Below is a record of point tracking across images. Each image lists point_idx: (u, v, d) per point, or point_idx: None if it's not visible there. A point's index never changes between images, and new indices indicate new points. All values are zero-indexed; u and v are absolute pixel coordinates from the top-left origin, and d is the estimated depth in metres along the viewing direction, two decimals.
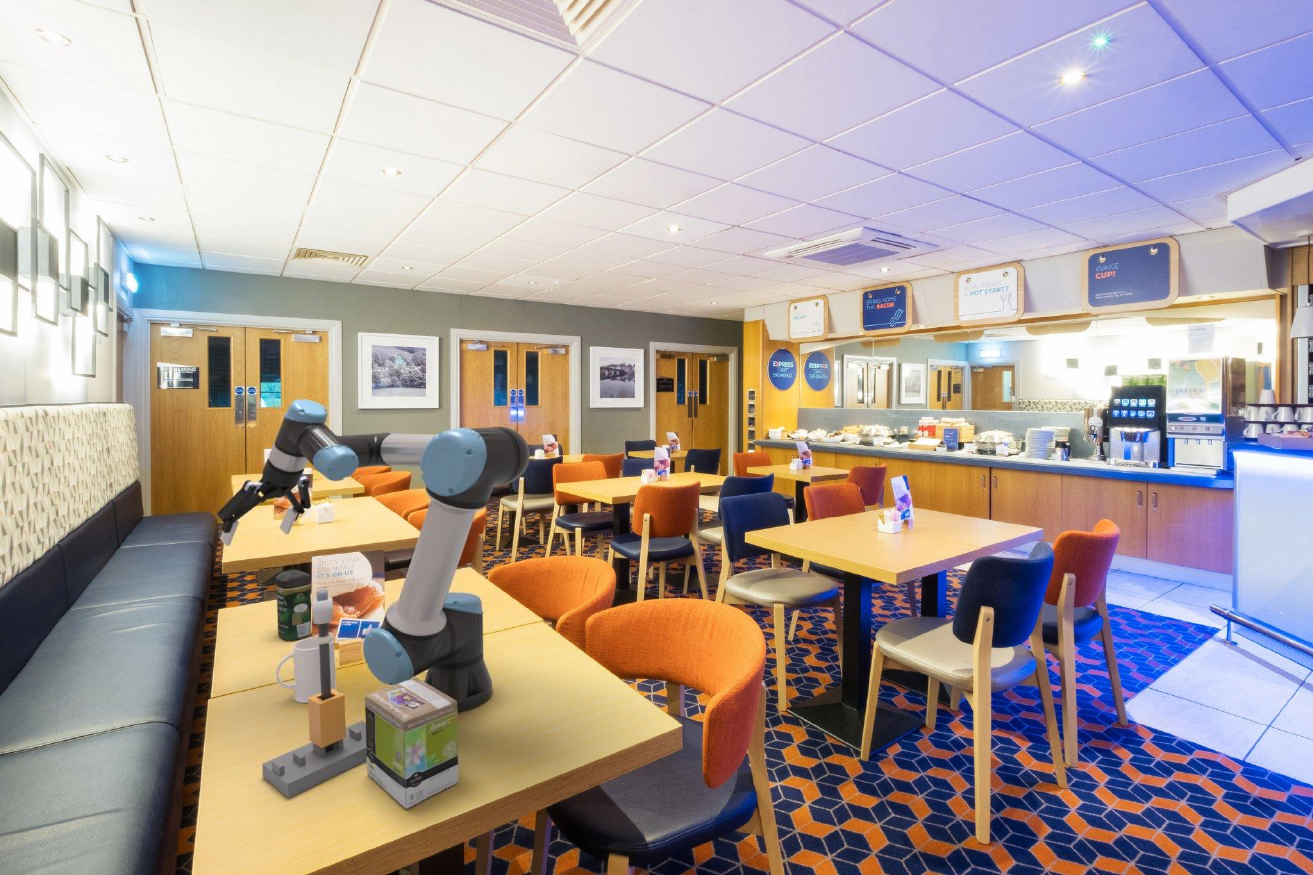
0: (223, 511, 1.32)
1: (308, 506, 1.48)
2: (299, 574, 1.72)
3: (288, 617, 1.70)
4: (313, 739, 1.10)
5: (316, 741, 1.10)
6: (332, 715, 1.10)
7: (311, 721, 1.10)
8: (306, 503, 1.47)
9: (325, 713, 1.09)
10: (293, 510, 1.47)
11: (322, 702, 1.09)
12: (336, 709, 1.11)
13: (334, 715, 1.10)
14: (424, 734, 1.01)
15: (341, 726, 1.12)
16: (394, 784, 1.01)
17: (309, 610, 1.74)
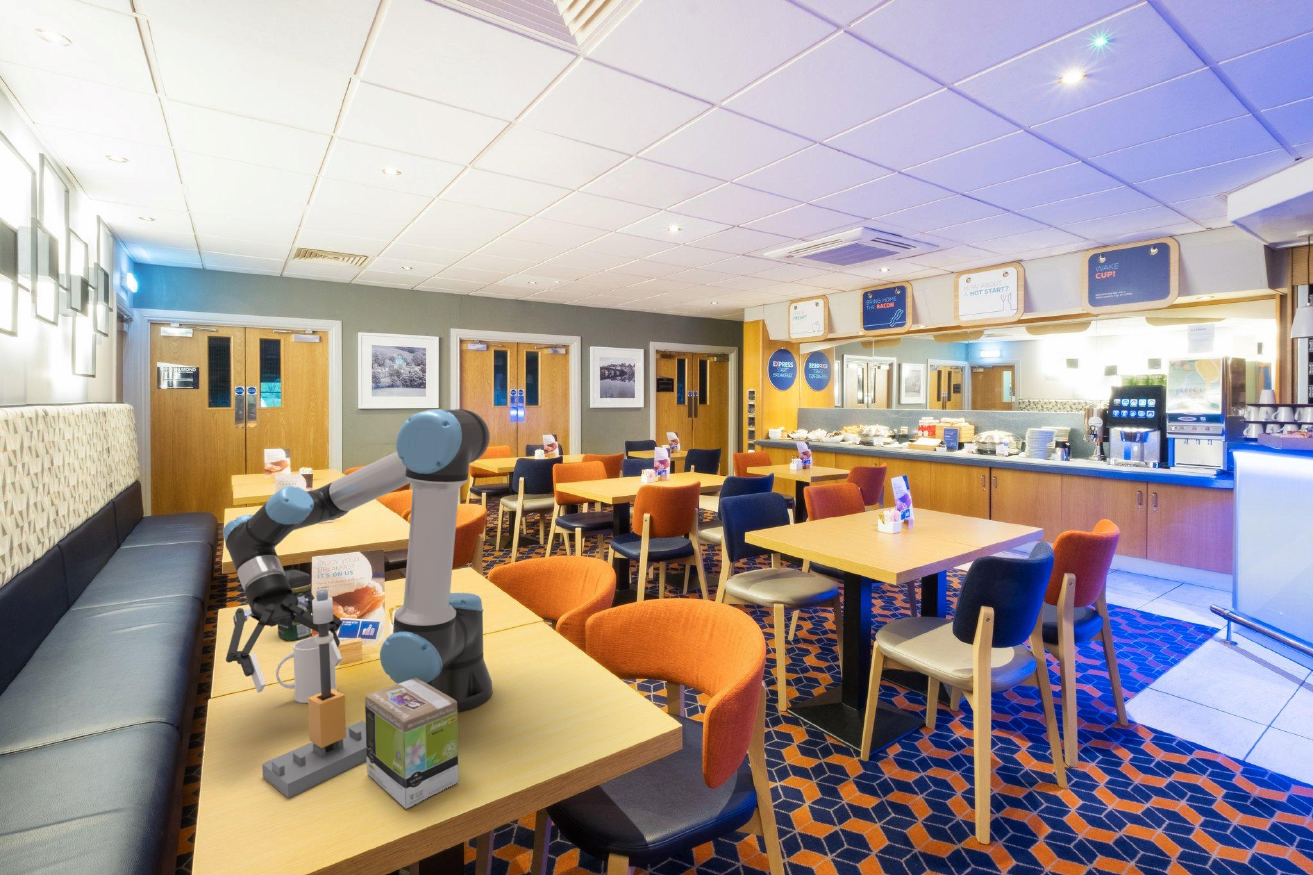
0: (228, 650, 1.12)
1: (338, 621, 1.26)
2: (299, 574, 1.72)
3: None
4: (313, 739, 1.10)
5: (316, 741, 1.10)
6: (332, 715, 1.10)
7: (311, 721, 1.10)
8: None
9: (325, 713, 1.09)
10: None
11: (322, 702, 1.09)
12: (336, 709, 1.11)
13: (334, 715, 1.10)
14: (424, 734, 1.01)
15: (341, 726, 1.12)
16: (394, 784, 1.01)
17: None
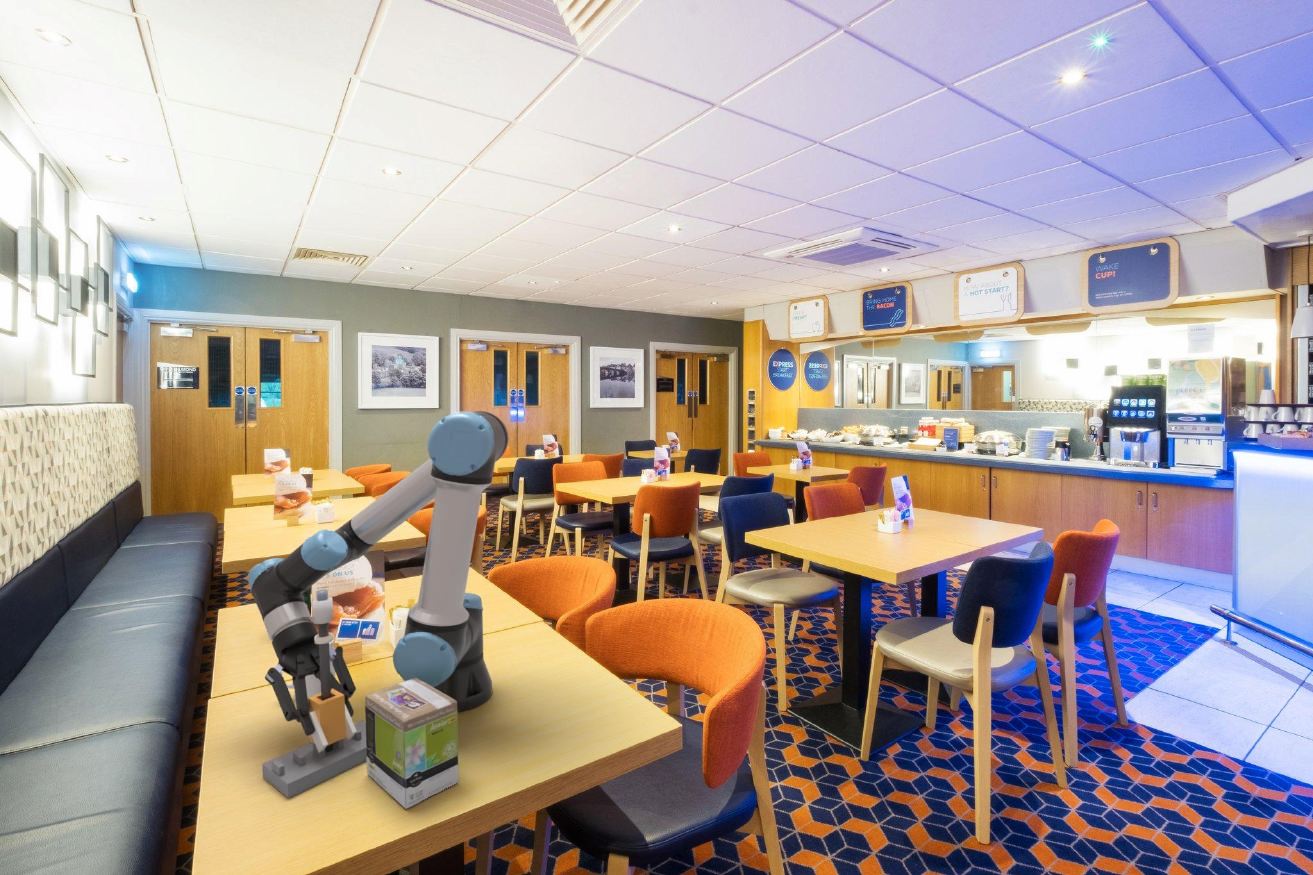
0: (285, 711, 1.08)
1: (352, 687, 1.16)
2: None
3: None
4: None
5: None
6: (332, 715, 1.10)
7: None
8: (347, 682, 1.17)
9: (325, 713, 1.09)
10: None
11: (322, 702, 1.09)
12: (336, 709, 1.11)
13: (334, 715, 1.10)
14: (424, 734, 1.01)
15: (341, 726, 1.12)
16: (394, 784, 1.01)
17: (309, 610, 1.74)
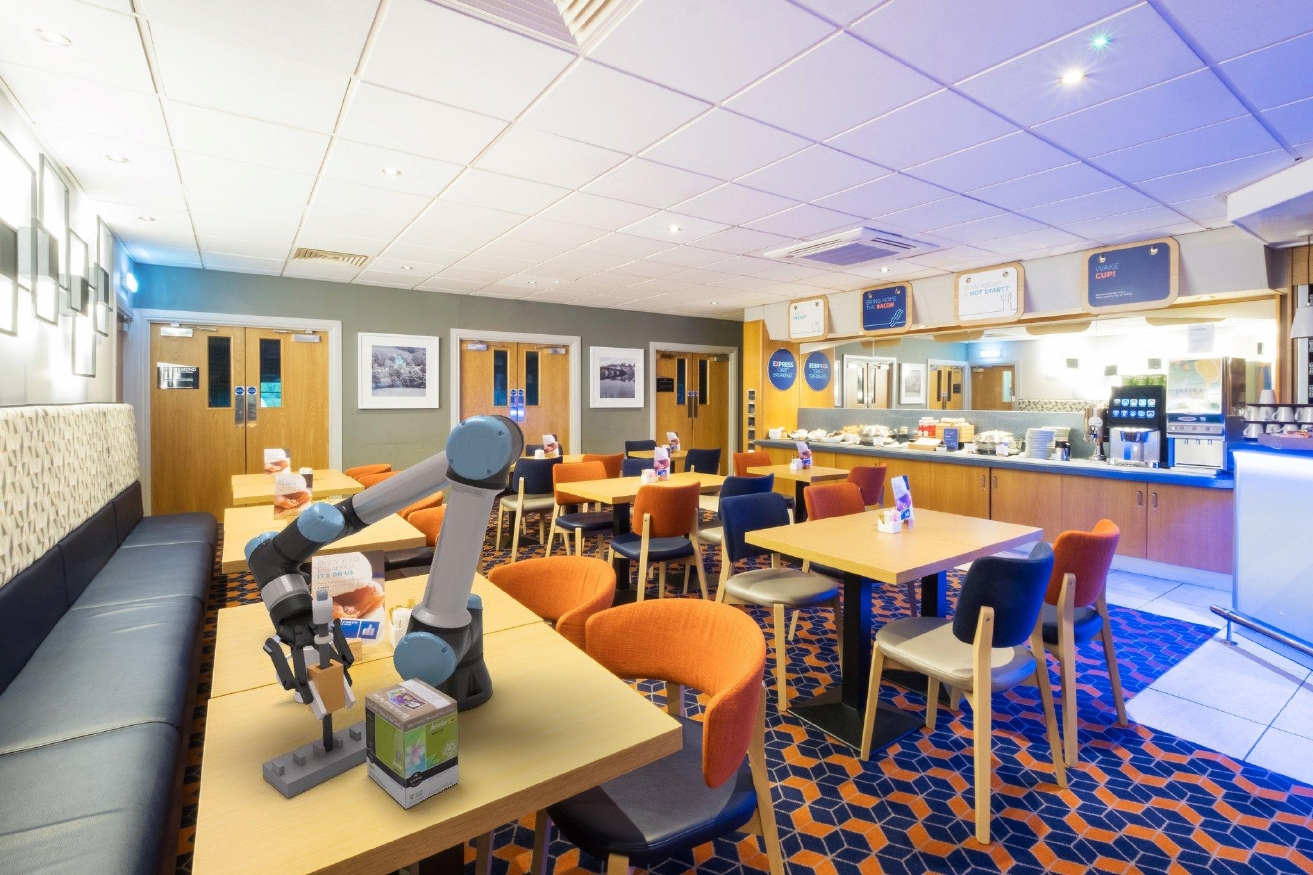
0: (283, 680, 1.08)
1: (350, 658, 1.16)
2: None
3: None
4: (312, 709, 1.10)
5: None
6: (331, 684, 1.10)
7: None
8: (346, 653, 1.16)
9: (324, 682, 1.09)
10: None
11: (321, 671, 1.09)
12: (335, 678, 1.10)
13: (333, 684, 1.10)
14: (424, 734, 1.01)
15: (340, 696, 1.11)
16: (394, 784, 1.01)
17: None
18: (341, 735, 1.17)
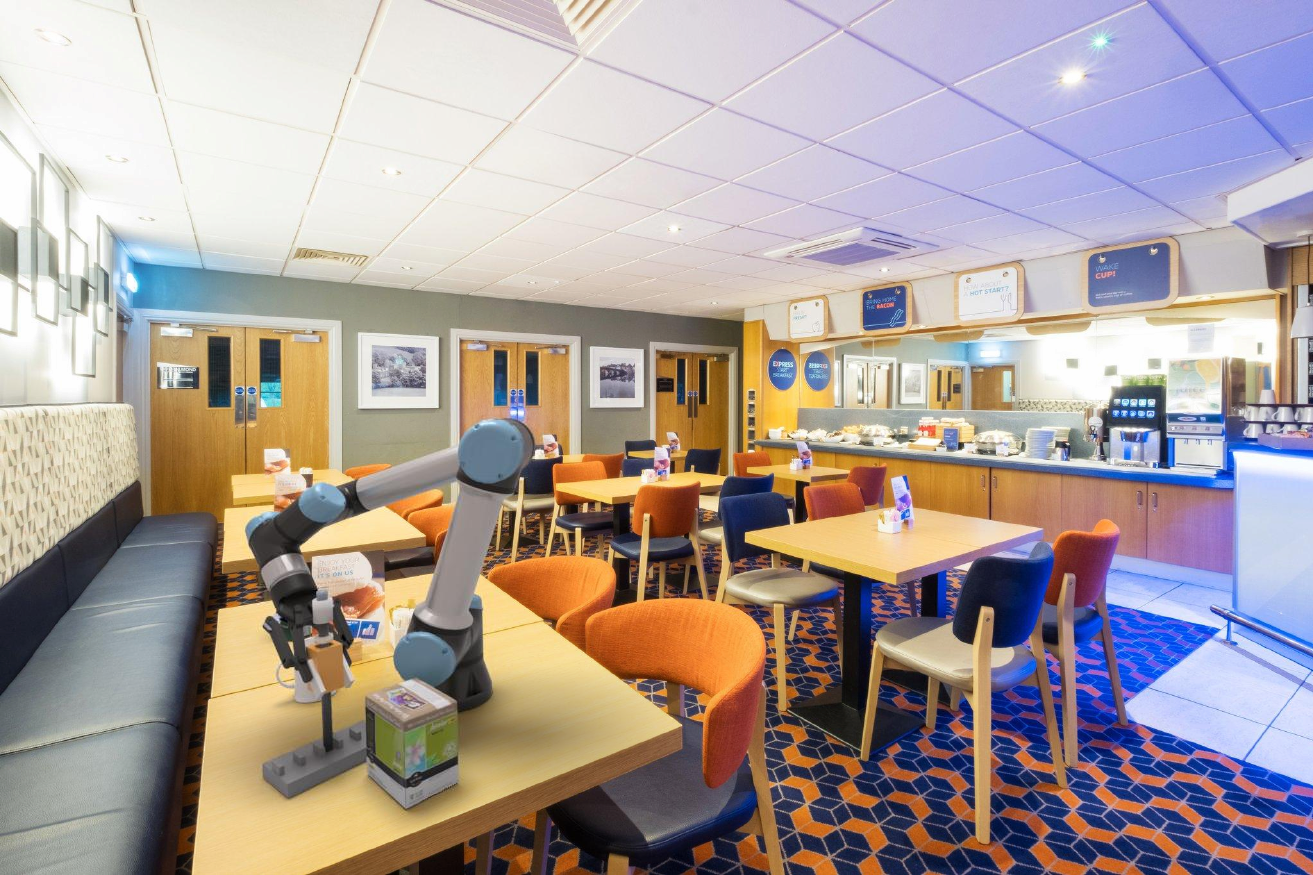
0: (282, 658, 1.08)
1: (350, 638, 1.16)
2: None
3: None
4: (311, 688, 1.10)
5: None
6: (330, 663, 1.10)
7: None
8: (345, 633, 1.16)
9: (323, 661, 1.09)
10: None
11: (320, 649, 1.09)
12: (334, 658, 1.10)
13: (332, 663, 1.10)
14: (424, 734, 1.01)
15: (339, 675, 1.11)
16: (394, 784, 1.01)
17: None
18: (341, 735, 1.17)
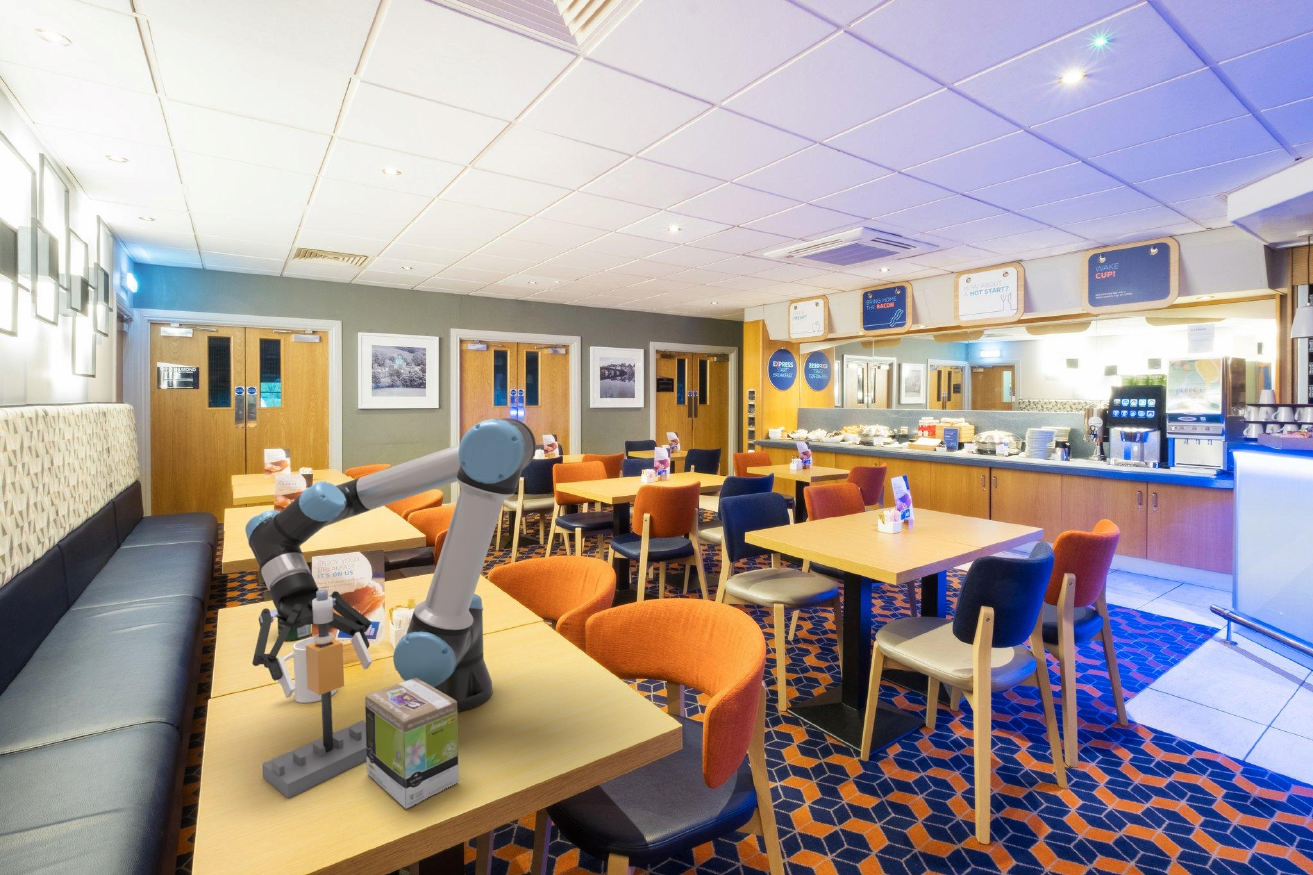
0: (255, 653, 1.06)
1: (367, 621, 1.20)
2: None
3: None
4: (311, 687, 1.10)
5: (314, 688, 1.09)
6: (330, 663, 1.10)
7: (309, 668, 1.10)
8: (360, 619, 1.20)
9: (323, 660, 1.09)
10: None
11: (320, 649, 1.09)
12: (334, 657, 1.10)
13: (332, 663, 1.10)
14: (424, 734, 1.01)
15: (339, 674, 1.11)
16: (394, 784, 1.01)
17: None
18: (341, 735, 1.17)
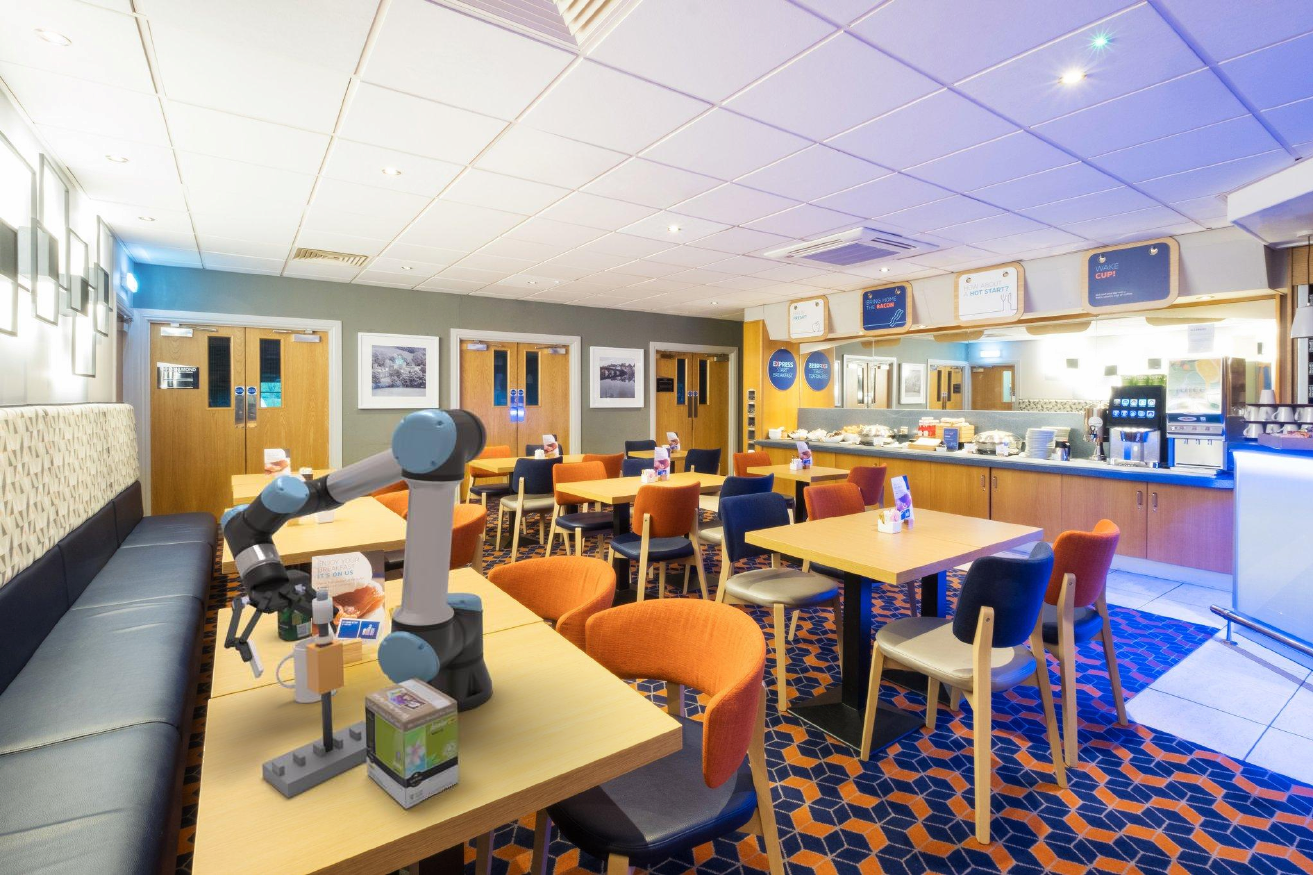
0: (226, 637, 1.13)
1: (335, 609, 1.27)
2: (299, 574, 1.72)
3: (288, 617, 1.70)
4: (311, 687, 1.10)
5: (314, 688, 1.09)
6: (330, 663, 1.10)
7: (309, 668, 1.10)
8: None
9: (323, 660, 1.09)
10: None
11: (320, 649, 1.09)
12: (334, 657, 1.10)
13: (332, 663, 1.10)
14: (424, 734, 1.01)
15: (339, 674, 1.11)
16: (394, 784, 1.01)
17: None
18: (341, 735, 1.17)
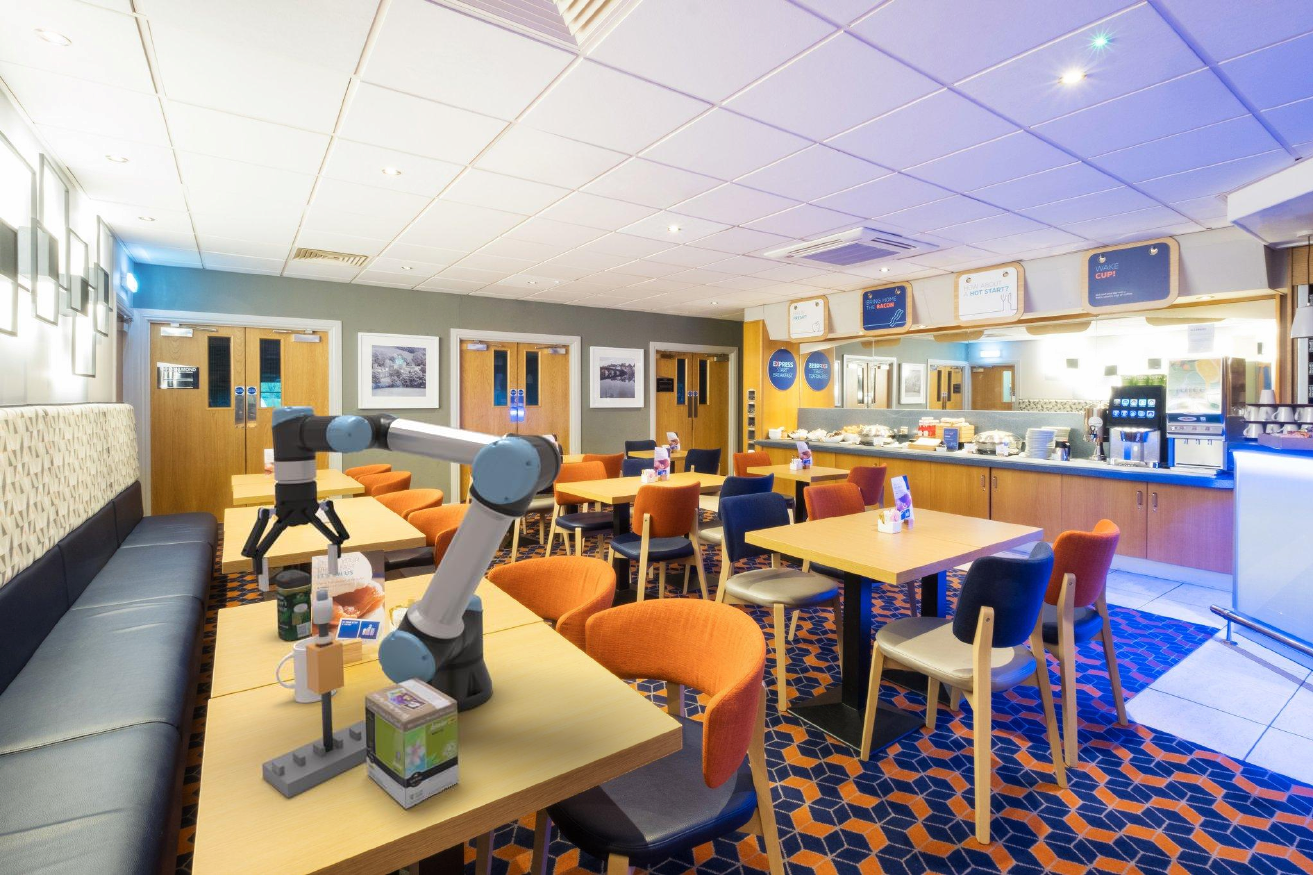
0: (245, 547, 1.20)
1: (346, 536, 1.34)
2: (299, 574, 1.72)
3: (288, 617, 1.70)
4: (311, 687, 1.10)
5: (314, 688, 1.09)
6: (330, 663, 1.10)
7: (309, 668, 1.10)
8: (342, 532, 1.33)
9: (323, 660, 1.09)
10: (332, 544, 1.33)
11: (320, 649, 1.09)
12: (334, 657, 1.10)
13: (332, 663, 1.10)
14: (424, 734, 1.01)
15: (339, 674, 1.11)
16: (394, 784, 1.01)
17: (309, 610, 1.74)
18: (341, 735, 1.17)
